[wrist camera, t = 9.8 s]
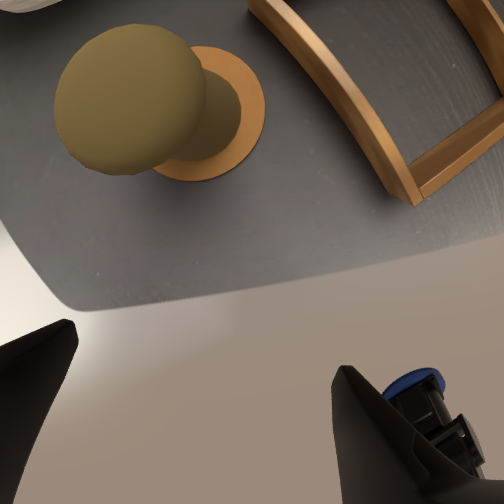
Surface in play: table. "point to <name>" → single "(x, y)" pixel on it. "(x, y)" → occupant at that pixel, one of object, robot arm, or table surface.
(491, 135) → the wooden frame
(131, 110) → the pepper shaker
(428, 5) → the table surface
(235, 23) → the table surface
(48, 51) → the table surface
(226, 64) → the coaster
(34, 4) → the plate stack
